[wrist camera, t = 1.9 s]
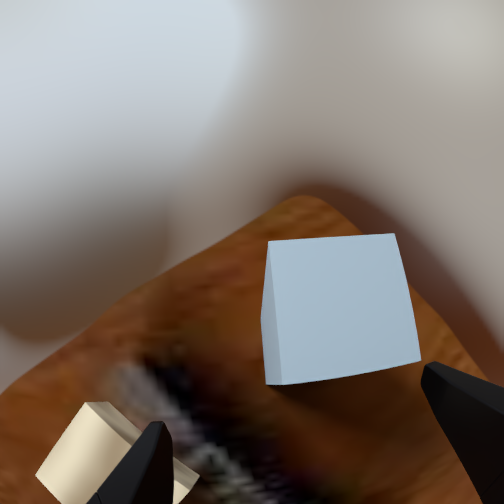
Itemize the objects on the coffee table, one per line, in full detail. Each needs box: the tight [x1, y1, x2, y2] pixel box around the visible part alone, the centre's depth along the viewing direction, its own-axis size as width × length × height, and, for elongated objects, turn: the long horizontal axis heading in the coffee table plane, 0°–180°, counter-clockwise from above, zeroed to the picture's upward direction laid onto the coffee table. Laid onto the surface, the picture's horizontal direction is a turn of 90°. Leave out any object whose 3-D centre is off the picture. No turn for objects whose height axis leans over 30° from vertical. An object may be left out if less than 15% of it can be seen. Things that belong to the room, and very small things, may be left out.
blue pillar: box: [261, 234, 421, 385], centre depth 16 cm, size 5×5×13 cm
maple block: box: [36, 402, 200, 504], centre depth 16 cm, size 9×9×4 cm
